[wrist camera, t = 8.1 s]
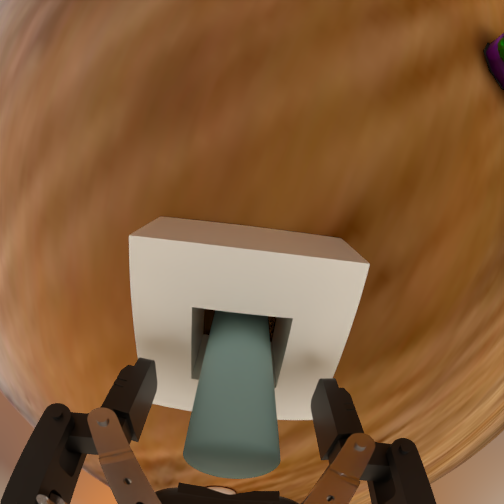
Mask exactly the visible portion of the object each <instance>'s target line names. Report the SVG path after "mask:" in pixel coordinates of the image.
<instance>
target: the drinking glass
mask: <svg viewBox="0 0 504 504" xmlns="http://www.w3.org/2000/svg"><path fill="white" fill-rule="evenodd" d="M207 488H209V489H212V490H215V491H218V492H221V493H224V494H229V495H231V494H236V493H235V492H234V491H233V490H231V489H228V488H224V487H207Z"/></svg>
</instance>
